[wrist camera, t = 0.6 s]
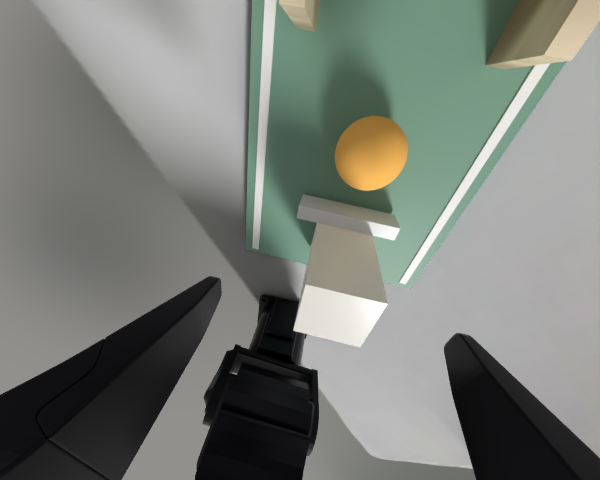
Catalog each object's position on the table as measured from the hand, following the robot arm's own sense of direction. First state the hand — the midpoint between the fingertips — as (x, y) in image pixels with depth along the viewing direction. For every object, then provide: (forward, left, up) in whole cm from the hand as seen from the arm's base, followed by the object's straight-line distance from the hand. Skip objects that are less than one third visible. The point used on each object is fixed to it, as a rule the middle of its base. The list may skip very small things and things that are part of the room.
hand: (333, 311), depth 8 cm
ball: (+4, -1, -8) cm, 9 cm away
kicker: (-3, -1, -10) cm, 10 cm away
